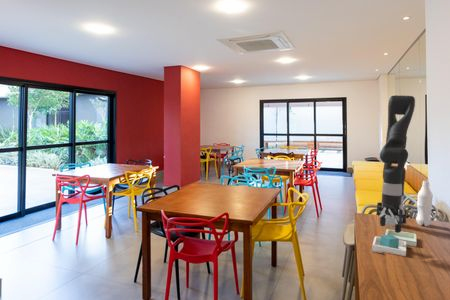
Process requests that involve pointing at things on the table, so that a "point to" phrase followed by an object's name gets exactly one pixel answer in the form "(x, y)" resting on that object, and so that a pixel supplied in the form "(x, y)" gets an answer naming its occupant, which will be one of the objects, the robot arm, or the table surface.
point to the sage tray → (403, 237)
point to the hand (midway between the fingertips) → (389, 229)
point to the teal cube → (389, 241)
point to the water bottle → (424, 205)
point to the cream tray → (381, 249)
